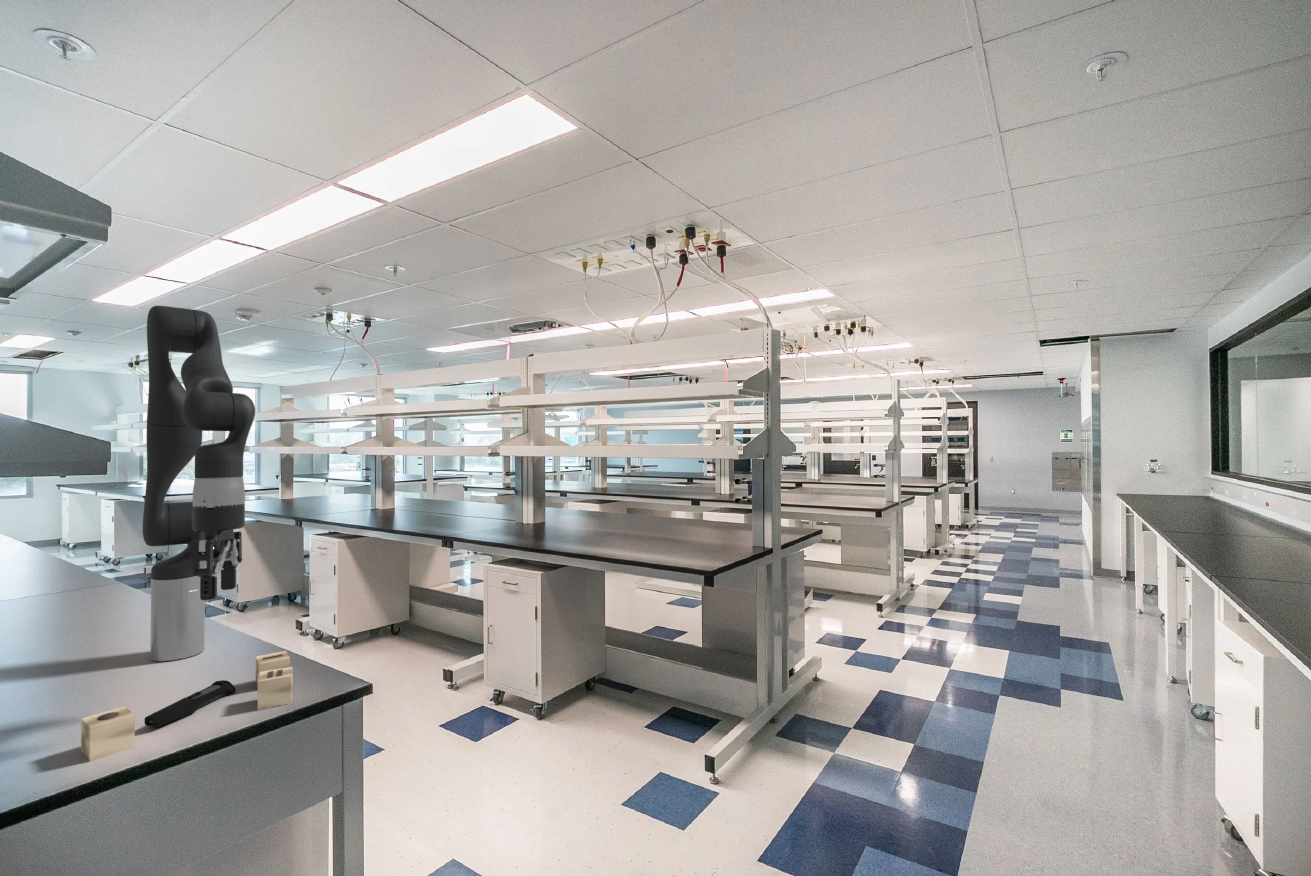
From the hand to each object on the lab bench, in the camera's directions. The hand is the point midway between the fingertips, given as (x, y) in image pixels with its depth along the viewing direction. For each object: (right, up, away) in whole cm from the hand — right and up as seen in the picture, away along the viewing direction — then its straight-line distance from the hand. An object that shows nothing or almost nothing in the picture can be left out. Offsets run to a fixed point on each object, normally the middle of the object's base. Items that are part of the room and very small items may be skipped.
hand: (218, 594), depth 104 cm
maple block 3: (+9, -20, +1) cm, 22 cm away
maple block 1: (-5, -20, -16) cm, 25 cm away
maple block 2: (+4, -20, +9) cm, 22 cm away
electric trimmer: (-3, -20, -2) cm, 20 cm away
